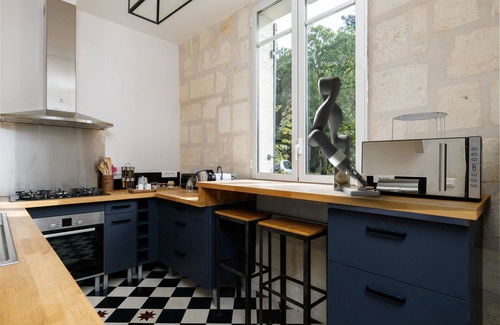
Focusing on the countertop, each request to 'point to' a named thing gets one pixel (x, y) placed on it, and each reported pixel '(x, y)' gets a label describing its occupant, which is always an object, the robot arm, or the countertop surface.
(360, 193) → the fader console
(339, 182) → the coffee box
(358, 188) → the fader knob
